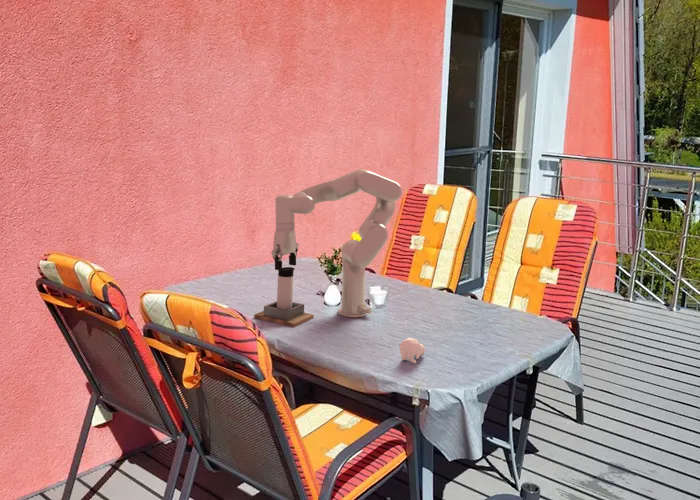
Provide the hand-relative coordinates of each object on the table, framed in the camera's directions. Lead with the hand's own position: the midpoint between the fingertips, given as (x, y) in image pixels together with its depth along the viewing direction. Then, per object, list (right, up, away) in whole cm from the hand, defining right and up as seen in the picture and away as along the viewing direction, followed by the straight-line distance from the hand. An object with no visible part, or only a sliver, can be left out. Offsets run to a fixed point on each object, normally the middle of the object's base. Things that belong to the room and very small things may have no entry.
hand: (285, 267), depth 274 cm
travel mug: (-1, -20, +4) cm, 20 cm away
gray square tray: (-1, -20, +4) cm, 20 cm away
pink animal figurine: (+49, -32, -36) cm, 68 cm away
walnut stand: (-1, -21, +4) cm, 22 cm away
